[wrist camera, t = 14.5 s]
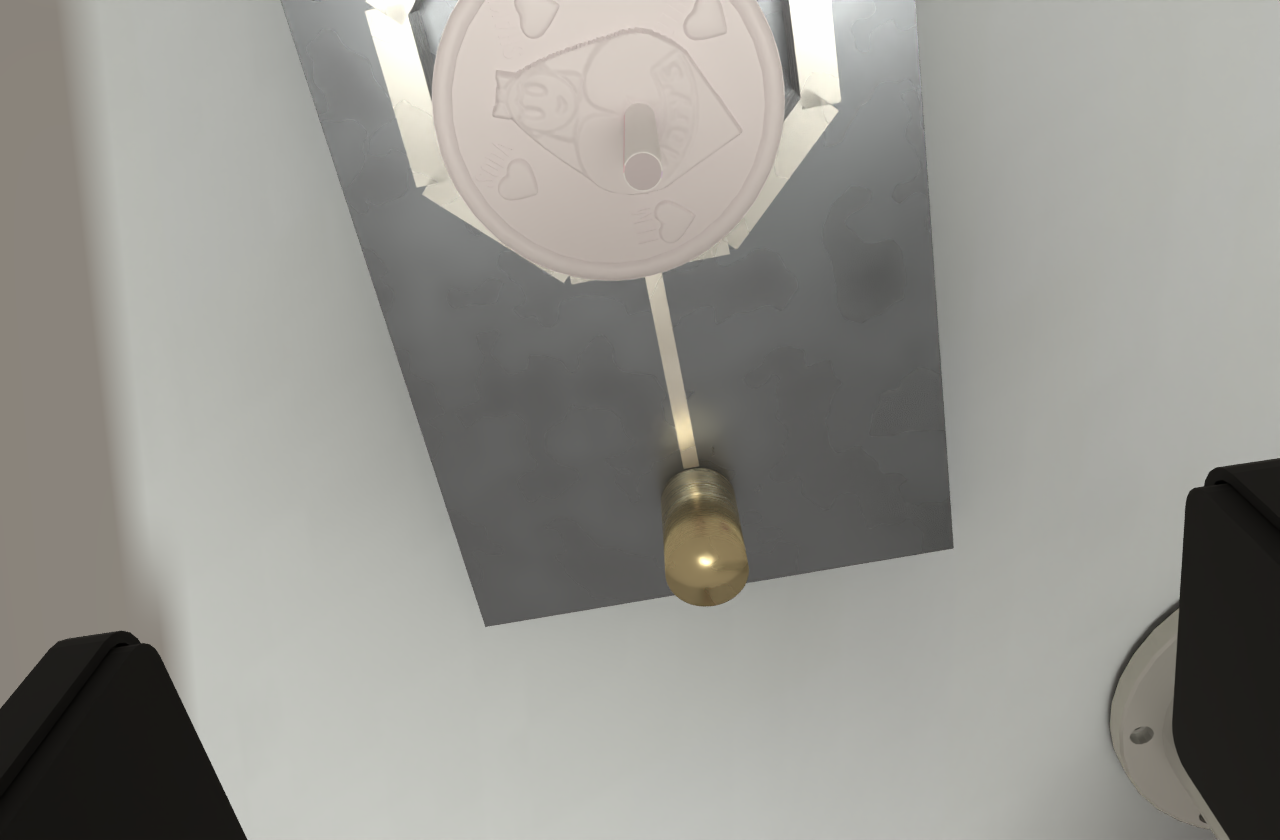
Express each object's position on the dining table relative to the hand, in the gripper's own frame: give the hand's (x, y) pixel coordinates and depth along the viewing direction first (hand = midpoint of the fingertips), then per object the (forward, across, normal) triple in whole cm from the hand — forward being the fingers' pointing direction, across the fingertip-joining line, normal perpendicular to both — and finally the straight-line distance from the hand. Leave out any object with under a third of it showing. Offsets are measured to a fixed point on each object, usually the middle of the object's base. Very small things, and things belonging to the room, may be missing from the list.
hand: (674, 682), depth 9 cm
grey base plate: (+22, 0, +2) cm, 23 cm away
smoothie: (+21, 0, -4) cm, 21 cm away
